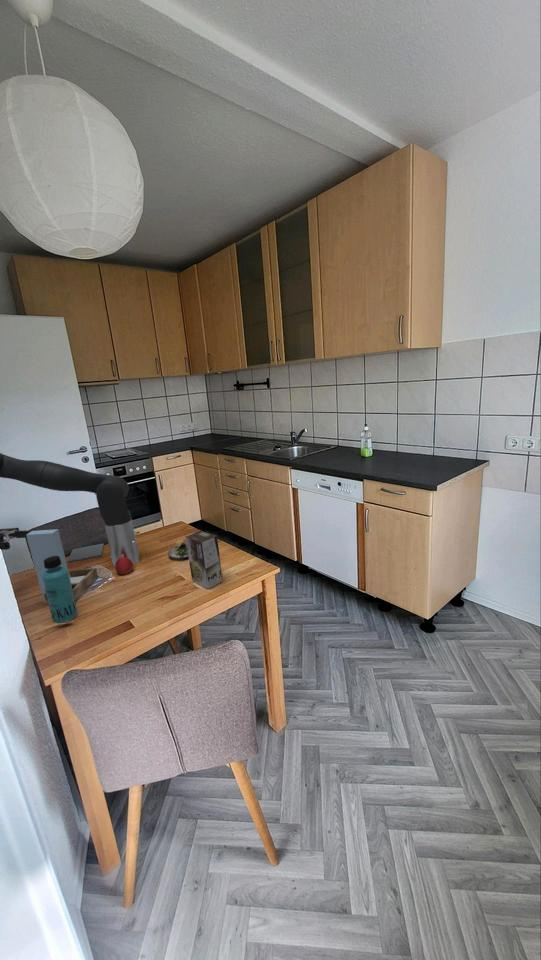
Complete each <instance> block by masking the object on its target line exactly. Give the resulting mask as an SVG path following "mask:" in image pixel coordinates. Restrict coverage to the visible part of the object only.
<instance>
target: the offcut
mask: <svg viewBox="0 0 541 960" xmlns="http://www.w3.org/2000/svg"><path fill="white" fill-rule="evenodd" d="M85 576H86V575H85ZM85 576H79V577H73V578H71V577H70V580H71V583H79V582H80V581H81V580H82V579H83V578H84V577H85Z"/></svg>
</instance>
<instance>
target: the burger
mask: <svg viewBox="0 0 541 960" xmlns="http://www.w3.org/2000/svg"><path fill="white" fill-rule="evenodd" d="M184 541H185V540H184V539H178V540H176V542H175V543H174V545H173V546H174V547H172V548H170V549H169V551H167V554H168V559H169V560H170V561H174V562H176V561H177V562H183V561H184V559H185V558H188V551H187V545H186V542H184Z"/></svg>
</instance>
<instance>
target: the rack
mask: <svg viewBox="0 0 541 960" xmlns="http://www.w3.org/2000/svg"><path fill="white" fill-rule="evenodd" d="M68 572H69V576H70V578H73V577H79V576H85V575H86V576H85V577H84V578H83V579H82V580H81V581H80V582H79V583H71V584H72V588H73V589H72V592H73V594H74V595H73V596H74V600H75V602H76V603H77V602H78V601H79V600H80V599H81V597H83V595H84V594H85V593H86V592H87V591H88V590H89V589H90V588H91V587H92V586H93V584H95V582H96V581H97V580H98V579H99V576H98V572H97V567H96V568H95V567H93V568H91V567H90V568H78V569H77V568H75V569H70V570H68ZM44 598H45V601H46V603H45V604H46V606H49V602H48V598H47V594H46V593H44Z"/></svg>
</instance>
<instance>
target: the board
mask: <svg viewBox="0 0 541 960" xmlns="http://www.w3.org/2000/svg"><path fill="white" fill-rule="evenodd" d="M60 534H61V533H60V531H59V529H58V528H56V529H42V530H31V531H30V532H28V534H27V535H26V536H27V538H26V539H27V543H28V544H27V545H28V547H29V548H28V549H29V551H30V555H31V559H32V563H33V566H34V570H35V573H36V577H37V581H38V586H39V588H40V589H39V590H40V593H41V597H42V601H43V603H44V604H46V601H45V598H44V593H46V591H45V585H44V581H43V578H42V576H43V574H44V573H45V571H46V570H48V569H46V568H45V567H44V560H45V559H46V558H49V557H52V556H59V557H60V560H61V565H59V566H62V567H64V568H66V569H67V570H68V575H69V580H70V578H71V576H70V572H69V568H68V565H67V563H68V562H67V559H66V555H65V551H64V548H63V543H62V540H61V535H60ZM70 584H71V580H70ZM71 588H72V584H71ZM72 589H73V588H72Z"/></svg>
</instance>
